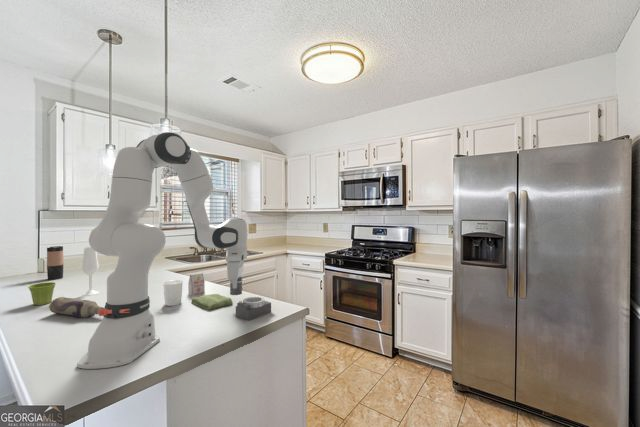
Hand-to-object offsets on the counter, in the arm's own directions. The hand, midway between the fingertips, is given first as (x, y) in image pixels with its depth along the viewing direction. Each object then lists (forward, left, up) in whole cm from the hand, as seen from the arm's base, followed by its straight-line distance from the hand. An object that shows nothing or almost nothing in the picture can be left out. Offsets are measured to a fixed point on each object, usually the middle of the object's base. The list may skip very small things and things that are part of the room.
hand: (236, 286), depth 127 cm
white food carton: (+27, +24, -10) cm, 37 cm away
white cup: (+11, +30, -10) cm, 33 cm away
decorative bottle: (0, +63, -10) cm, 64 cm away
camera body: (-8, -8, -10) cm, 15 cm away
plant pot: (+20, +90, -10) cm, 92 cm away
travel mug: (+73, +121, -10) cm, 141 cm away
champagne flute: (+34, +78, -10) cm, 85 cm away
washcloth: (+9, +12, -10) cm, 18 cm away
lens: (0, 0, -3) cm, 3 cm away
